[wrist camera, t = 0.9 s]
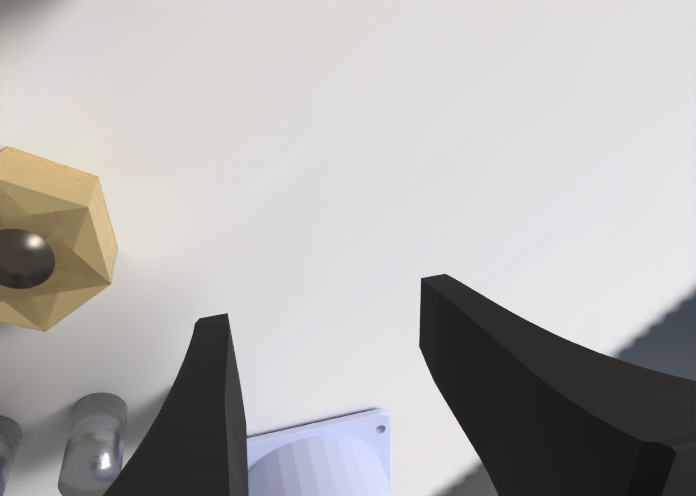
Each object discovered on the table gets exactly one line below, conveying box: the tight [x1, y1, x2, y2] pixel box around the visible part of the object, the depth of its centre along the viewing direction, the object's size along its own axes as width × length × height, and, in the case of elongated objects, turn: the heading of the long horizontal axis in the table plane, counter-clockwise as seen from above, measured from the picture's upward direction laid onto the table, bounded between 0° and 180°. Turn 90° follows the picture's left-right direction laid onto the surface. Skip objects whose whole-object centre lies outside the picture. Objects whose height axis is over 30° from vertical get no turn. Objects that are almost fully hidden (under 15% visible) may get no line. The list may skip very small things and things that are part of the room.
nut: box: [0, 146, 118, 332], centre depth 18 cm, size 5×5×2 cm
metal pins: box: [0, 393, 128, 496], centre depth 17 cm, size 19×10×4 cm, turn 3°
